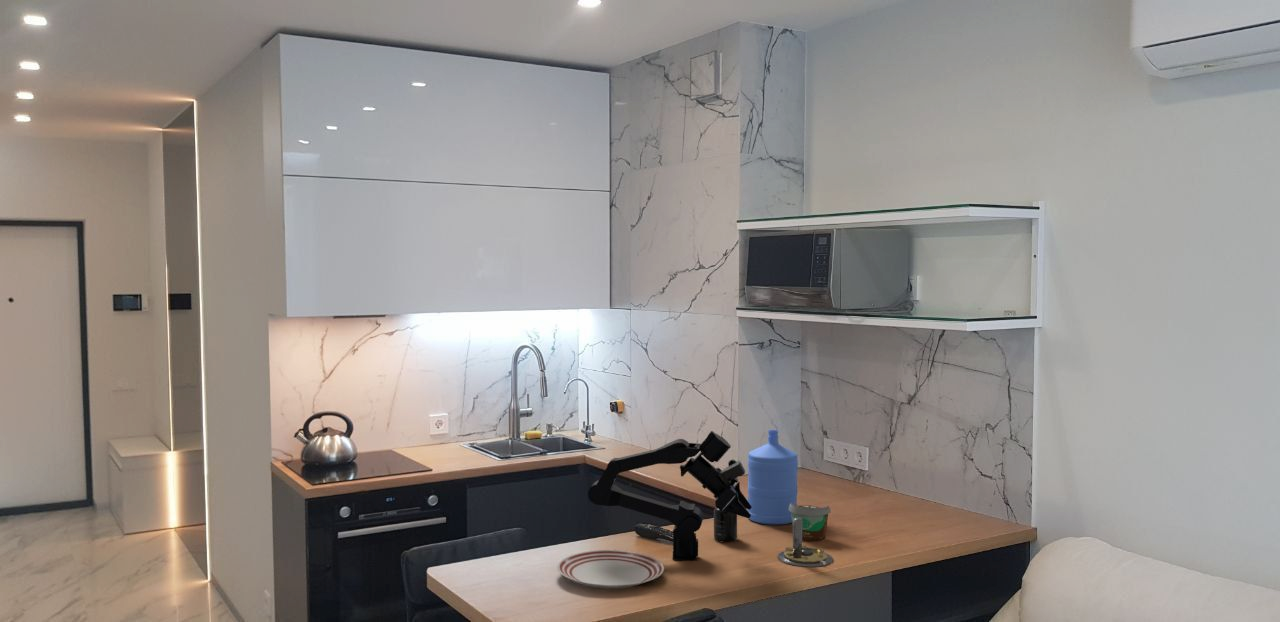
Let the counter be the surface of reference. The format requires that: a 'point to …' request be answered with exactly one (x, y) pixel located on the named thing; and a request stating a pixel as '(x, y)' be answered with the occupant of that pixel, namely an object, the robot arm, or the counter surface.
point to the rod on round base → (796, 551)
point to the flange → (805, 552)
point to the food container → (811, 521)
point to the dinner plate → (610, 568)
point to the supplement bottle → (725, 526)
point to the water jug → (772, 482)
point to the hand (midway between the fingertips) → (750, 512)
